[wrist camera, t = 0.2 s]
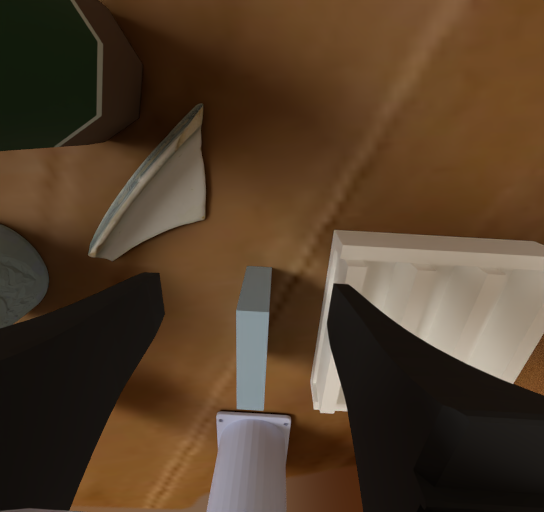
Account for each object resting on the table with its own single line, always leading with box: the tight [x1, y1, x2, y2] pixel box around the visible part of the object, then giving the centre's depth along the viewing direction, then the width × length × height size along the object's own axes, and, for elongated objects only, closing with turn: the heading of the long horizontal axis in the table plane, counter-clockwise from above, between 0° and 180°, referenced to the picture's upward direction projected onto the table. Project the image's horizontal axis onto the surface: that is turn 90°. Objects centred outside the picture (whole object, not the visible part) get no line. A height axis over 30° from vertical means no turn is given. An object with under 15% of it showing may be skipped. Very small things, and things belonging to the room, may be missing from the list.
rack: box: [310, 230, 544, 414], centre depth 22 cm, size 16×15×4 cm
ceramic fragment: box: [88, 103, 206, 261], centre depth 19 cm, size 14×5×4 cm, turn 135°
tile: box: [236, 266, 272, 411], centre depth 21 cm, size 9×2×6 cm, turn 177°
